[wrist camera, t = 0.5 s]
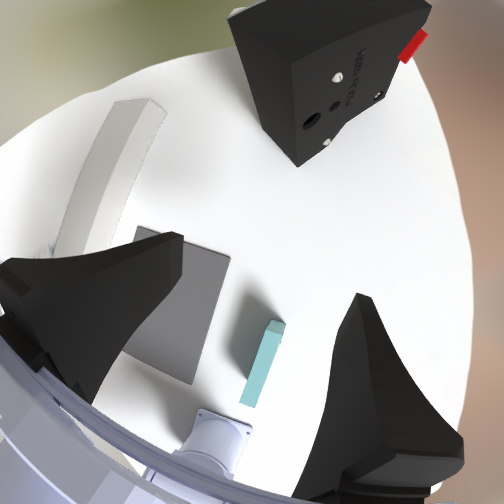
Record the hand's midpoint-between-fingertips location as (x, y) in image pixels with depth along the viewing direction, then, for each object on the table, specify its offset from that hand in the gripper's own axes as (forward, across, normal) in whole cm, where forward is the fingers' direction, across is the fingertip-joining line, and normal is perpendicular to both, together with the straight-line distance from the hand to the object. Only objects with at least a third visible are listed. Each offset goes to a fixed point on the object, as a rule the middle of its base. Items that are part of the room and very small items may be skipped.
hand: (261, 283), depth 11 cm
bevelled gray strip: (+20, +31, +12) cm, 39 cm away
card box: (+14, 0, +21) cm, 25 cm away
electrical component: (+32, +2, -7) cm, 33 cm away
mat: (+14, +15, +20) cm, 29 cm away
